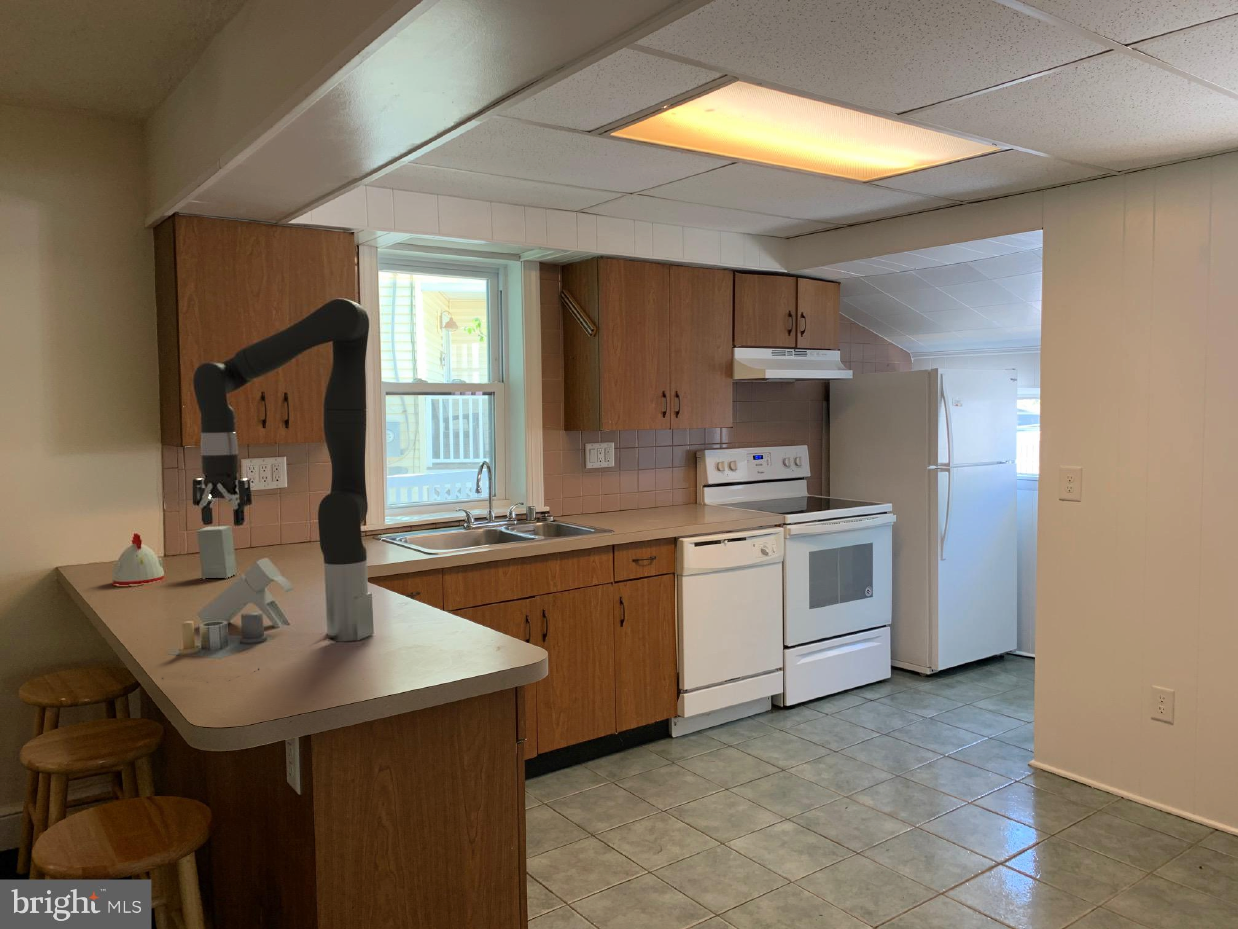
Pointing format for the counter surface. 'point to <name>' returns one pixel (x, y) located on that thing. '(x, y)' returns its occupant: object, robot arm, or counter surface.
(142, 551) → the chicken hat
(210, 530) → the skincare box
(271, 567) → the faucet
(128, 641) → the counter surface
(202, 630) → the tube
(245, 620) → the board
